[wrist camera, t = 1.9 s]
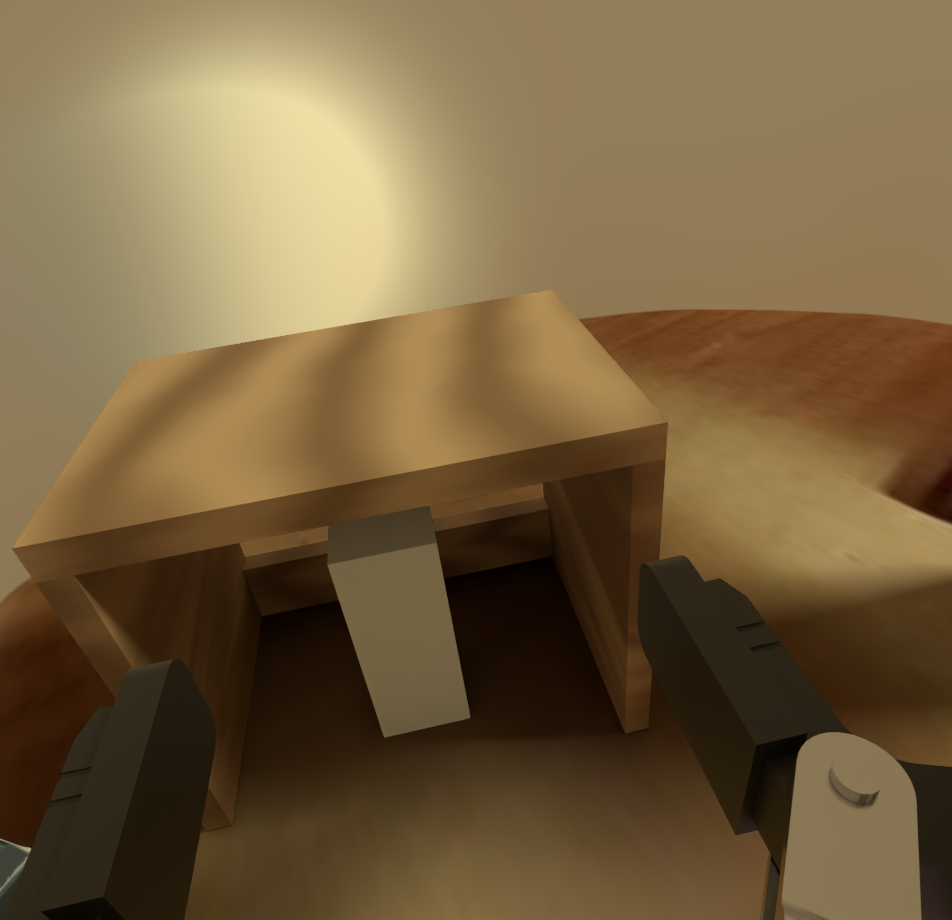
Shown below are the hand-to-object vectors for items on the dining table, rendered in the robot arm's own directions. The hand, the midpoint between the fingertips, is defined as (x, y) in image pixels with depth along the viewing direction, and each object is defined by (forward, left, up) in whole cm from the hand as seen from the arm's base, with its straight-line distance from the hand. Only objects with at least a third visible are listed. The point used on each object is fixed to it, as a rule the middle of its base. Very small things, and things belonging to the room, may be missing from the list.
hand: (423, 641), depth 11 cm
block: (+2, -15, -20) cm, 25 cm away
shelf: (+2, -17, -20) cm, 27 cm away
